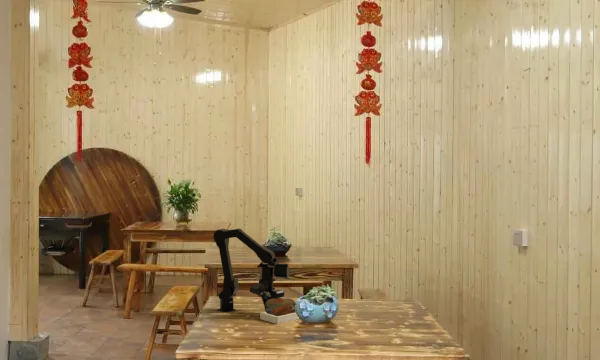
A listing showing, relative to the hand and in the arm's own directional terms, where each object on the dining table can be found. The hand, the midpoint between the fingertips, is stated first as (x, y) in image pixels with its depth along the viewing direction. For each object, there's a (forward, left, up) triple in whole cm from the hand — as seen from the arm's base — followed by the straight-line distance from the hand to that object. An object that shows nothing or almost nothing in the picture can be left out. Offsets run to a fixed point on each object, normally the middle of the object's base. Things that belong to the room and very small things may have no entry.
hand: (266, 309), depth 278 cm
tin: (+8, +2, -2) cm, 9 cm away
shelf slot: (+12, 0, -2) cm, 12 cm away
